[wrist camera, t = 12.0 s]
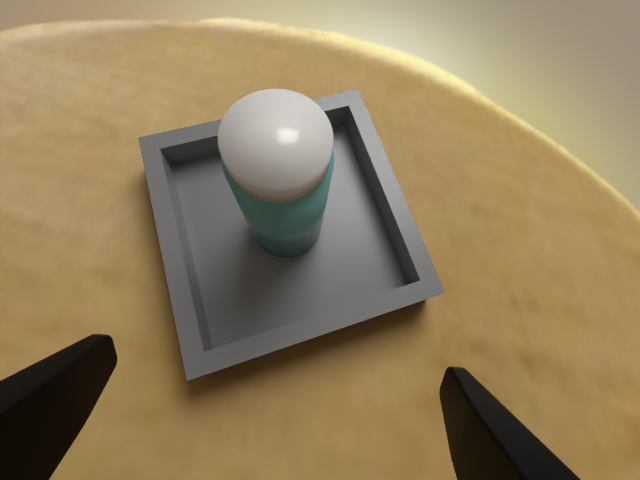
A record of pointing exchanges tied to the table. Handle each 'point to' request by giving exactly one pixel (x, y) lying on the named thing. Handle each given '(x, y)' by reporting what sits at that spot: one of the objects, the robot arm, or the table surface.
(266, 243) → the ball
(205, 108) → the table surface
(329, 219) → the tray
